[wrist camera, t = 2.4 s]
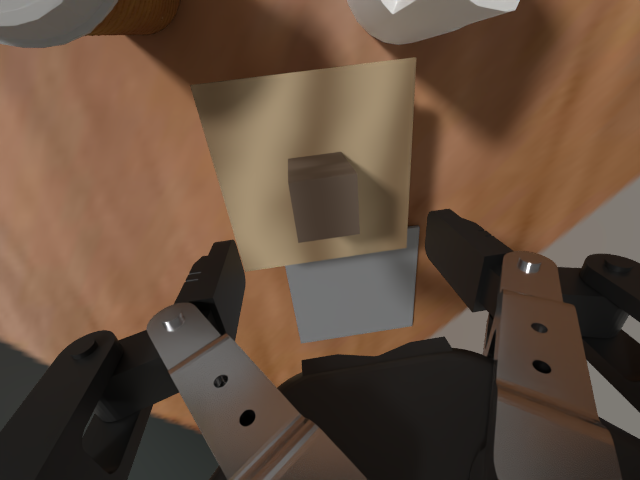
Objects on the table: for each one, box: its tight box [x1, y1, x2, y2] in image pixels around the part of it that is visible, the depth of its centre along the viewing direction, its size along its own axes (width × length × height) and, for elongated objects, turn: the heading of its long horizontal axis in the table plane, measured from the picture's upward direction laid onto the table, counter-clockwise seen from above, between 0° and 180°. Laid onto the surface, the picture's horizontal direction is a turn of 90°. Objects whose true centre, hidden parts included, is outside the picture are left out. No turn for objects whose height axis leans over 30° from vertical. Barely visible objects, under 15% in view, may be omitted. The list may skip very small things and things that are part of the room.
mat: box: [285, 225, 420, 343], centre depth 32 cm, size 14×14×1 cm
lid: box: [190, 57, 416, 272], centre depth 18 cm, size 13×13×6 cm
